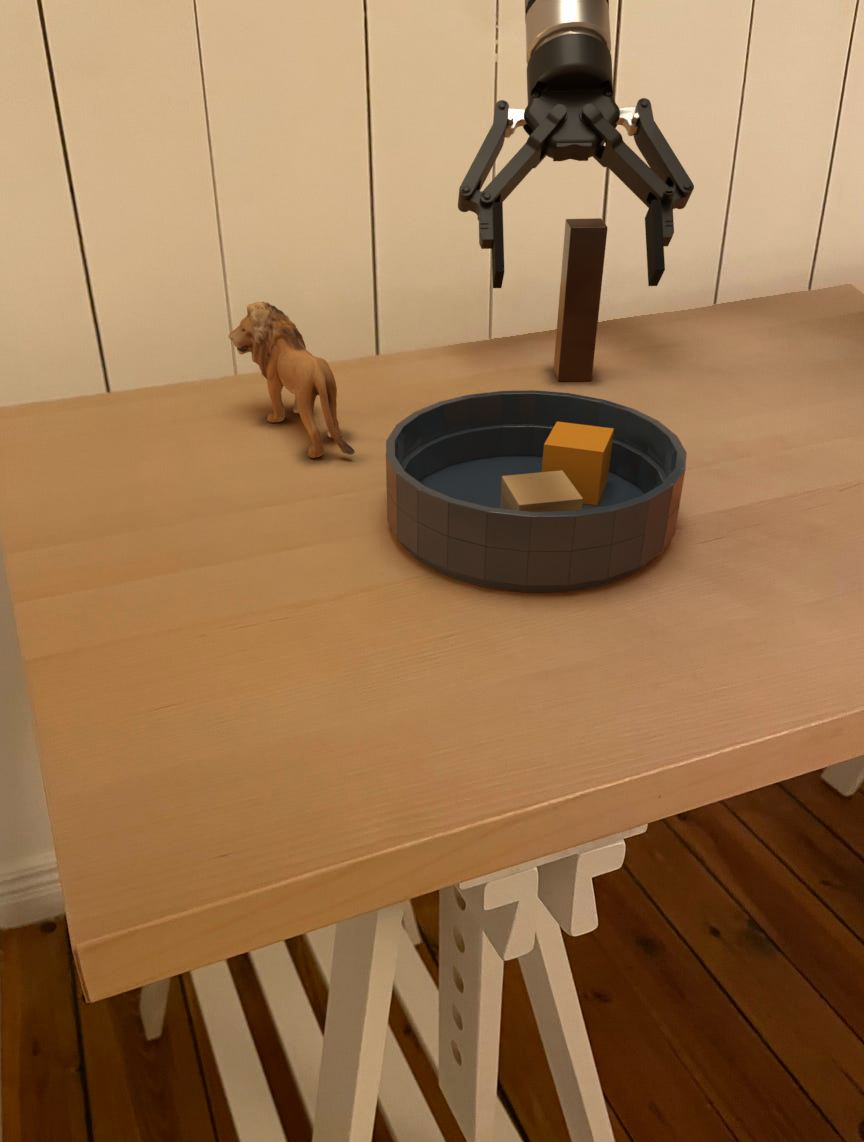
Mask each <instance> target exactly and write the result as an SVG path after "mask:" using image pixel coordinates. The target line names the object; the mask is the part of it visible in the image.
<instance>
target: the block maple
mask: <svg viewBox="0 0 864 1142" xmlns="http://www.w3.org/2000/svg"><path fill="white" fill-rule="evenodd" d="M582 503H583V498H582V497H581V495H580V494H579V492H578V491H577V490H576V488H575V487H574V486H573V484H572V483H571V481H570V480H569V479H568V477H567V476H566V475H565V473H564V472H563V471H562V470H560V471H550V472H539V473H529V474H518V475H507V476H502V481H501V500H500V509H509V510H518V511H528V512H555V511H579V510H582Z"/></svg>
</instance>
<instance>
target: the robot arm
mask: <svg viewBox="0 0 864 1142" xmlns="http://www.w3.org/2000/svg"><path fill="white" fill-rule="evenodd" d="M524 14H525V15H524V23H525V54H526V57H525V58H526V59H525V60H526V64H527V65H526V92H527V94H526V95H527V97H526V98H527V106H526V107H525V109H523V108H522V109H521V108H513V107H510V105H509V102H508V101H507V100H504V99H499V100H497V101H496V102H495V106H494V111H493V120H492V124H491V126H490V129H489V130H488V132H487V134H486V136H485V138H484V140H483V142H482V144H481V146H480V148H479V149H478V152H477V153H476V156H475V157H474V159H473V161H472V162H471V164H470V167H469V168H468V171H467V173H466V174H465V176H464V178H463V180H462V182H461V184H460V186H459V189H458V199H457V209H458V210H459V212H462V213H468V212H472V213H474V214H476V216H477V221H478V244H479V246H480V248H481V250H491V270H492V271H491V272H492V276H491V277H492V289H502V287H503V282H504V276H505V244H504V243H505V239H504V207H503V206H504V204H503V203H504V201H505V200H507V198H508V197H509V196H510V195H511V194H512V193H513V192H514V190H515V189H516V188H517V187H518V186H519V185H520V184H521V182H522V181H523V180H524V179H525V178H526V177H527V176H528V175H529V173H530V172H532V170H533V169H536V168H537V167H538V166H539V165H540V164H541V163H542V161H544V160H545V158H546V157H548V158H549V159H552V162H563V161H564V162H565V161H568V160H573V161H578V162H588V161H589V158H593V159H594V160H595V161H596V162H597V163H598V164H599V165H601V167H603V168H608V169H609V170H610V171H611V172H612V173H613V174H614V175H615V176H616V177H617V178H618V179H619V180H620V181H621V182H622V183H623V184H624V186H626V187H627V188H628V189H629V190H630V192H632V193H633V194H634V195H635V196H636V197H637V198H638V200H640V201H641V202H642V203H643V204H644V206H646V207H647V208H648V210H647V212H646V214H645V217H644V227H645V228H644V229H645V245H646V246H645V248H646V249H645V250H646V267H647V284H648V287H658V285H659V283H660V280H661V279H662V277H663V275H664V273H665V272H666V263H665V247H669V245H670V243H671V241H672V238H673V236H674V234H675V223H674V210H676V209H677V210H682V209H684V208H686V206H687V204H688V202H689V200H690V197H691V196H692V193H693V191H694V189H695V184H694V183H693V181H692V179H691V178H690V176H689V174H688V173H687V171H686V170H685V168H684V166H683V164H682V163H681V161H680V160H679V158H678V157H677V155H676V154H675V152H674V150H673V148H672V147H671V145H670V144H669V142H668V140H667V139H666V137H665V136H664V134H663V132H662V131H661V129H660V128H659V126H658V124H657V123H656V121H655V119H654V112H653V108H652V104H651V101H650V99H649V98H646V97H642V98H640V99H638V101H637V102H636V105H633V106H625V107H619V106H618V104H617V103H616V101H615V97H614V79H613V59H612V53H611V51H612V40H611V21H610V0H524ZM617 126H623V128H625V130H626V132H627V135H628V137H633V140H634V142H635V145H636V147H637V149H638V150H639V152H640V154H641V155H642V157H643V159H644V160H645V161H644V160H643V159H642V158H641V157H640V156H639V155H638V154H637V153H636V152H635V151H634V150H632V148H631V147H630V146H629V145H628V144H626V142H625V141H624V138H623V136H622V134H621V132H620V131H619V130H618V129H617ZM520 127H522V128H523V130H524V132H525V133H526V134H527V135H528V138H527V140H526V142H525V143H524V144H523V145H522V146H521V148H520V149H519V150H518V151H517V152H516V153H515V154H514V156H513V157H511V159H510V160H509V161H508V162H507V163H506V165H505V166H504V167H503V168H502V169H500V171H499V172H498V174H496V176H495V177H493V179H491V181H490V182H489V184H487V185H486V186H485V188H484V189H483V190H482V188H483V186H484V183H485V182H486V180H487V178H488V177H489V174H490V173H491V170H492V169H493V166H494V165H495V162H496V161H497V159H498V157H499V155H500V153H501V151H502V149H503V146H504V144H505V138H506V139H509V138H511V136H513V135H514V133H515V131H516V129H517V128H520ZM481 190H482V191H481Z"/></svg>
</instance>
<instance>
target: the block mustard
mask: <svg viewBox="0 0 864 1142" xmlns="http://www.w3.org/2000/svg"><path fill="white" fill-rule="evenodd" d="M613 434H614V428H606V427H598V426H590V425H582V424H574V423H565V422H556V424H555V426H554V427H553V429H552V431H551V433H550V435H549V436H548V438H547V440H546V442H545V443H544V451H543V464H542V472H550V471H560V470H562V471H563V472H564V473H565V475H566V476H567V477H568V479H569V480H570V481H571V483H572V484H573V486H574V487H575V488H576V490H577V491H578V492H579V494H580V495H581V497H582V498H583V503H582V504H588V505H595V506H597V505H598V503H599V501H600V498H601V496H602V494H603V491H604V489H605V486H606V484H607V481H608V475H609V467H610V459H611V450H612V442H613Z"/></svg>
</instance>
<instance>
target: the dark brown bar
mask: <svg viewBox="0 0 864 1142" xmlns="http://www.w3.org/2000/svg"><path fill="white" fill-rule="evenodd" d="M564 223H565V224H564V233H563V234H564V236H563V238H564V239H563V247H562V248H563V250H562V259H561V262H562V263H561V271H560V283H559V297H558V307H557V309H558V310H557V322H556V333H555V346H554V357H553V372H554V374H555V377H556V380H557V382H591V381H592V379H593V371H594V362H595V361H594V360H595V352H596V342H597V334H598V333H597V332H598V323H599V314H600V304H601V296H602V295H601V294H602V286H603V277H604V275H603V274H604V266H605V256H606V247H607V246H606V245H607V237H608V229H609V228H608V226H607V224H606V223H605V222H604V220H603V218H600V217H598V218H597V217H595V218H566V219H565V222H564Z"/></svg>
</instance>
